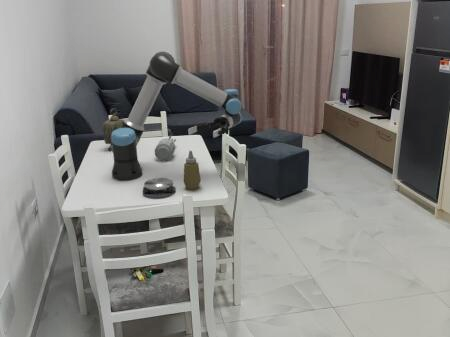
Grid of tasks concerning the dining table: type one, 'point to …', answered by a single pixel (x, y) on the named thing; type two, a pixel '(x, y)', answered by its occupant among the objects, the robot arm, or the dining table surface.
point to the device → (165, 149)
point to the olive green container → (111, 127)
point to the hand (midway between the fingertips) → (201, 133)
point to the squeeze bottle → (191, 173)
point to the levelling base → (159, 193)
